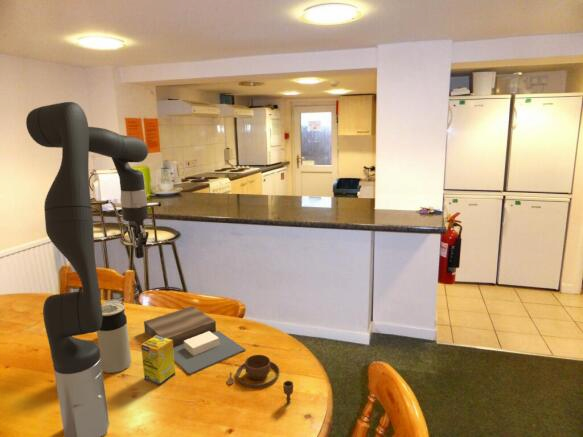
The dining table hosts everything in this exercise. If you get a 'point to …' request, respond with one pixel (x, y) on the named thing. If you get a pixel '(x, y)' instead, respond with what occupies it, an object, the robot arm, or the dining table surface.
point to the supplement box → (158, 359)
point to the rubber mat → (206, 354)
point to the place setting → (261, 373)
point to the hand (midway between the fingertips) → (139, 257)
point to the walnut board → (180, 325)
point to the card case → (201, 343)
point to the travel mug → (114, 339)
